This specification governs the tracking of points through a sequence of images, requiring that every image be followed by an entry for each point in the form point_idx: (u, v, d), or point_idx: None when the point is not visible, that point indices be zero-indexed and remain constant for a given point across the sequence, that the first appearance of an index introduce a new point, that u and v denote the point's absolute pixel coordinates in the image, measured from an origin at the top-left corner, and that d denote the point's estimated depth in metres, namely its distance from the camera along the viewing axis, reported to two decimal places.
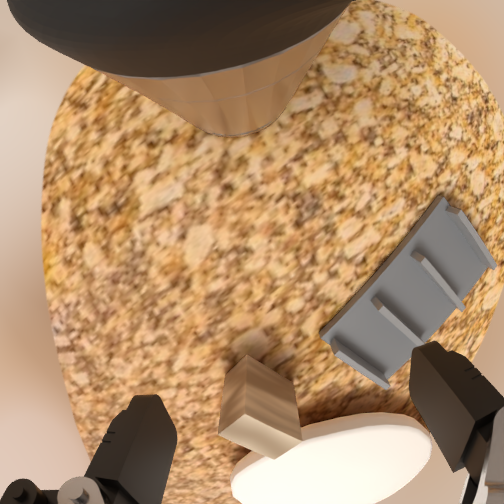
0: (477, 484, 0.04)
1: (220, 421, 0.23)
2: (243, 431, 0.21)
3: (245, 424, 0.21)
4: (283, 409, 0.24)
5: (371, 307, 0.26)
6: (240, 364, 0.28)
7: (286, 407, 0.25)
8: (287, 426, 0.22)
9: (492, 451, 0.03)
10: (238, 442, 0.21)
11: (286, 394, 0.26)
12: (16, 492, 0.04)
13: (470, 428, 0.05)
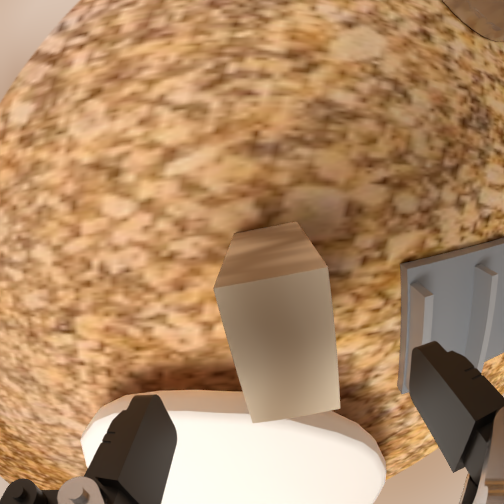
0: (477, 484, 0.04)
1: (220, 273, 0.11)
2: (277, 315, 0.09)
3: (299, 299, 0.09)
4: None
5: (470, 275, 0.16)
6: (280, 227, 0.16)
7: None
8: None
9: (492, 451, 0.03)
10: (235, 340, 0.10)
11: None
12: (17, 492, 0.04)
13: (470, 428, 0.05)
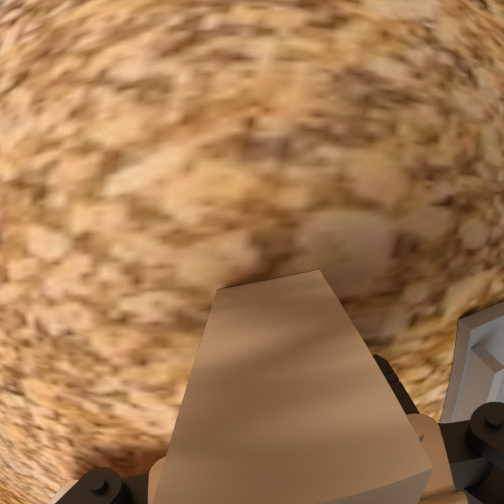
0: None
1: (175, 432, 0.04)
2: None
3: None
4: None
5: None
6: (293, 282, 0.10)
7: None
8: None
9: None
10: None
11: None
12: (96, 484, 0.04)
13: None
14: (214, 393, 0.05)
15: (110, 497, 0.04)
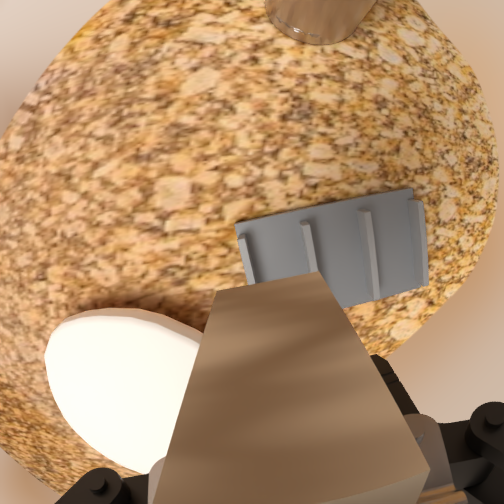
0: None
1: (175, 433, 0.04)
2: None
3: None
4: None
5: (295, 229, 0.26)
6: (293, 284, 0.10)
7: None
8: None
9: None
10: None
11: None
12: (96, 484, 0.04)
13: None
14: (213, 395, 0.05)
15: (110, 497, 0.04)
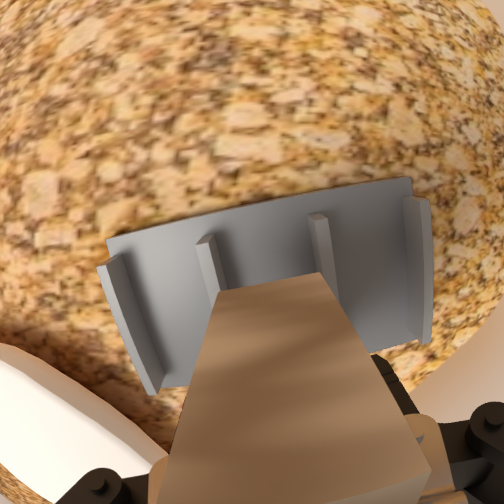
0: None
1: (177, 435, 0.04)
2: None
3: None
4: None
5: None
6: (293, 285, 0.10)
7: None
8: None
9: None
10: None
11: None
12: (96, 483, 0.04)
13: None
14: (215, 396, 0.05)
15: (110, 497, 0.04)
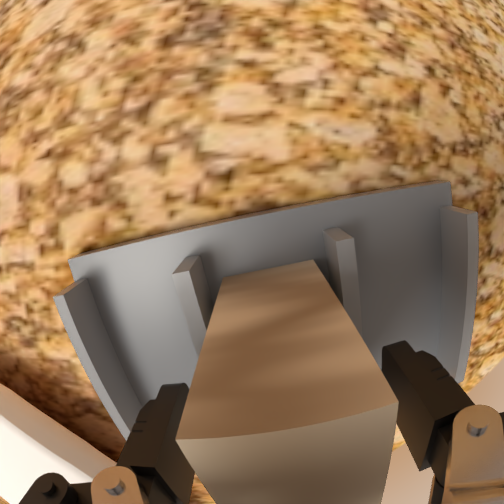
0: (444, 486, 0.04)
1: (193, 384, 0.06)
2: (295, 471, 0.04)
3: (338, 451, 0.04)
4: None
5: None
6: (290, 270, 0.11)
7: None
8: None
9: (448, 452, 0.04)
10: (222, 495, 0.04)
11: None
12: (45, 486, 0.04)
13: (431, 427, 0.05)
14: (224, 353, 0.06)
15: (56, 500, 0.04)
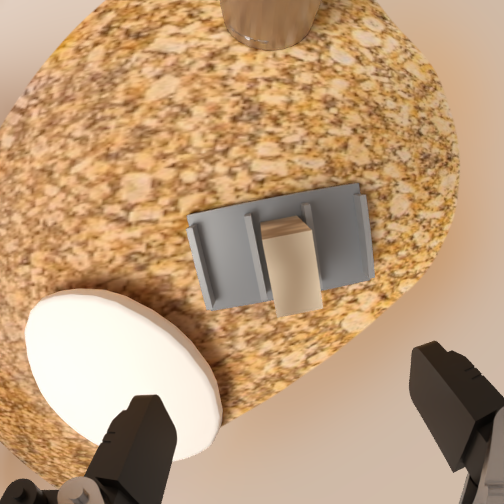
0: (477, 484, 0.04)
1: None
2: (290, 252, 0.21)
3: (299, 244, 0.21)
4: None
5: (242, 221, 0.29)
6: (287, 218, 0.28)
7: None
8: None
9: (492, 451, 0.03)
10: (270, 265, 0.22)
11: None
12: (16, 492, 0.04)
13: (470, 428, 0.05)
14: (268, 231, 0.24)
15: None
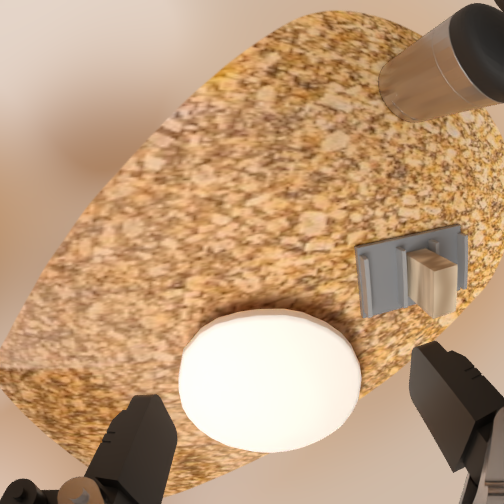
0: (477, 484, 0.04)
1: (427, 268, 0.31)
2: (446, 278, 0.30)
3: (451, 273, 0.29)
4: None
5: (393, 252, 0.37)
6: (422, 250, 0.36)
7: None
8: None
9: (492, 451, 0.03)
10: (435, 286, 0.30)
11: None
12: (17, 492, 0.04)
13: (470, 428, 0.05)
14: (427, 264, 0.32)
15: None
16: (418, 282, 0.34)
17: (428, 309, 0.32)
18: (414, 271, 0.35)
